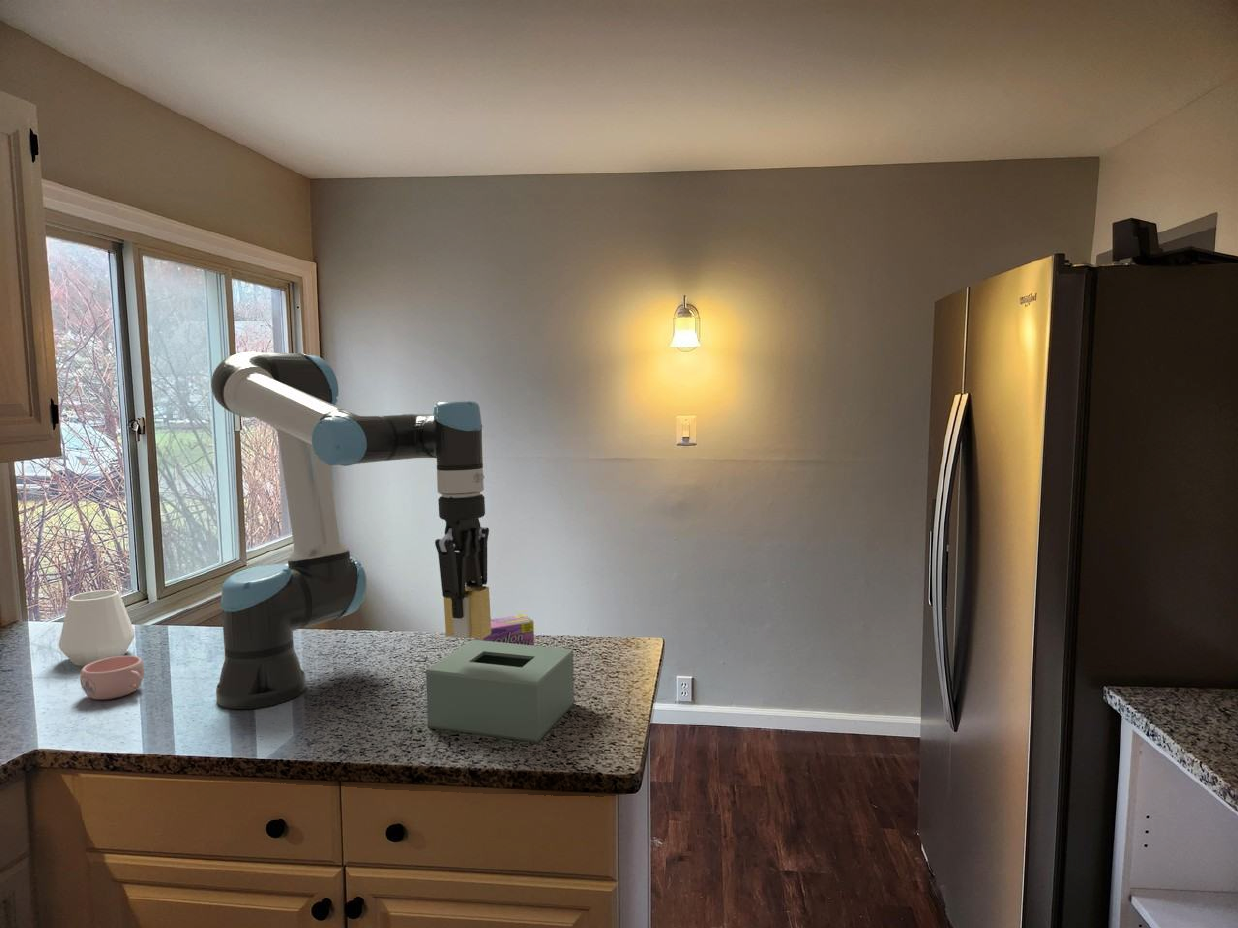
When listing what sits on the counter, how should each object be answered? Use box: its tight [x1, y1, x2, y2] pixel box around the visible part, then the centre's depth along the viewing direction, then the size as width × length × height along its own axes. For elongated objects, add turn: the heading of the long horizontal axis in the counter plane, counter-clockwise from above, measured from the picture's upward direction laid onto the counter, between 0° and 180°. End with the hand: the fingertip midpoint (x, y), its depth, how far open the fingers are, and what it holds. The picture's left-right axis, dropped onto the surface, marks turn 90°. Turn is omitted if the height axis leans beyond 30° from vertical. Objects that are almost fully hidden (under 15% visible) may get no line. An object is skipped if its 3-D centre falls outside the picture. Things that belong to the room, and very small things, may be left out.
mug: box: [79, 655, 145, 700], centre depth 140 cm, size 12×10×6 cm
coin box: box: [425, 639, 575, 744], centre depth 129 cm, size 20×16×10 cm
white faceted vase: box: [58, 589, 136, 667], centre depth 160 cm, size 13×13×14 cm
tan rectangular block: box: [443, 586, 491, 640], centre depth 126 cm, size 7×3×8 cm, turn 71°
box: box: [474, 614, 535, 646], centre depth 146 cm, size 10×6×12 cm, turn 117°
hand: (467, 632), depth 126 cm, fingers closed on tan rectangular block, 3 cm apart
